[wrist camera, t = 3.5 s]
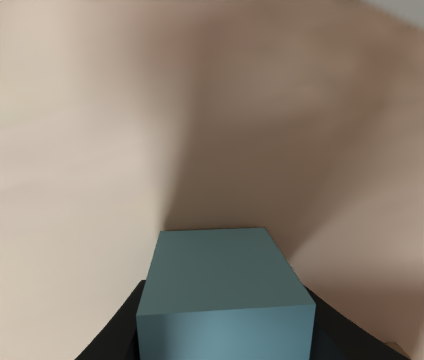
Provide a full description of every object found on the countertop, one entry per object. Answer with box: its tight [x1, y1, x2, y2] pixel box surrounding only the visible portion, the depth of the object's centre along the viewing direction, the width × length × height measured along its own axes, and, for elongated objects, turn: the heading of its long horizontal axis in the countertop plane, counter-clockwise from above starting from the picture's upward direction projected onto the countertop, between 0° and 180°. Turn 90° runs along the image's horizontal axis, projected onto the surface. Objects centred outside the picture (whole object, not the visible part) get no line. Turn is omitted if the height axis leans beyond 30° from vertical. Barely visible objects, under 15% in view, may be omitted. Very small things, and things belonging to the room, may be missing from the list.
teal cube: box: [136, 228, 316, 360], centre depth 9 cm, size 4×4×4 cm
